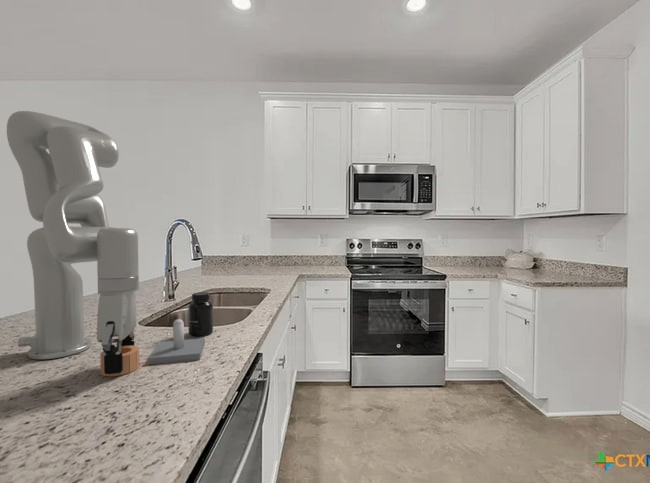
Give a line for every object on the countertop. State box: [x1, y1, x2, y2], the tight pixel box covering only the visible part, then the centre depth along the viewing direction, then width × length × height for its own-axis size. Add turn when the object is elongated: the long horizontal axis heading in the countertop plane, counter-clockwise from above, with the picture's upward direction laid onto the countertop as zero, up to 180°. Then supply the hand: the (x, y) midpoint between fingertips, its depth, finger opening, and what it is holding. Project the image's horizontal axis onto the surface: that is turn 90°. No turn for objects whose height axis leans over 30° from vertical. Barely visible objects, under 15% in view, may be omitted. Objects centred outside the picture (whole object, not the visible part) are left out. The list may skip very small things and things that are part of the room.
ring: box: [99, 345, 140, 378], centre depth 71 cm, size 7×7×4 cm
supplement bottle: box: [187, 291, 214, 338], centre depth 95 cm, size 7×7×12 cm
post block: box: [147, 318, 206, 366], centre depth 80 cm, size 11×11×8 cm
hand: (120, 364), depth 71 cm, fingers closed on ring, 7 cm apart
